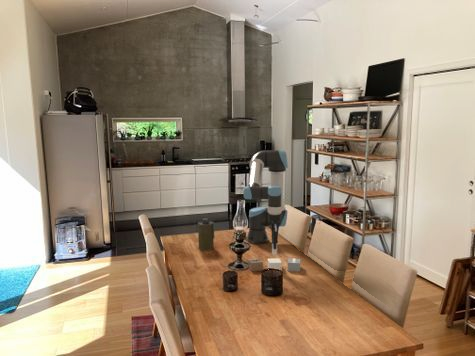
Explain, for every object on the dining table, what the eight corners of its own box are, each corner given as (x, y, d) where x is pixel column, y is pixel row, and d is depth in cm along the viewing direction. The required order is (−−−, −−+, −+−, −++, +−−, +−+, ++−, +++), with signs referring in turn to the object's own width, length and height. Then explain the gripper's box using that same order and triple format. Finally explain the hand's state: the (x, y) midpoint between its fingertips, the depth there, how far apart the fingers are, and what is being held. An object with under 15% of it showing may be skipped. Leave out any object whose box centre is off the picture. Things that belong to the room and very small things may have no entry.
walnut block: (247, 267, 222) (247, 258, 221) (259, 265, 224) (259, 257, 223) (250, 271, 215) (250, 262, 214) (262, 270, 217) (262, 261, 216)
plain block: (267, 266, 222) (267, 258, 221) (279, 266, 222) (279, 258, 222) (269, 271, 215) (269, 263, 214) (281, 271, 215) (281, 262, 215)
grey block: (288, 266, 222) (288, 258, 221) (300, 267, 221) (300, 258, 220) (287, 271, 215) (287, 262, 214) (300, 271, 214) (300, 263, 213)
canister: (195, 249, 253) (195, 220, 250) (201, 244, 263) (201, 216, 260) (211, 251, 250) (210, 221, 247) (216, 246, 259) (216, 217, 257)
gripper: (266, 210, 220) (266, 250, 224) (269, 216, 207) (269, 257, 211) (279, 210, 220) (279, 249, 224) (282, 216, 208) (282, 257, 211)
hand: (274, 253), depth 217 cm, fingers closed
